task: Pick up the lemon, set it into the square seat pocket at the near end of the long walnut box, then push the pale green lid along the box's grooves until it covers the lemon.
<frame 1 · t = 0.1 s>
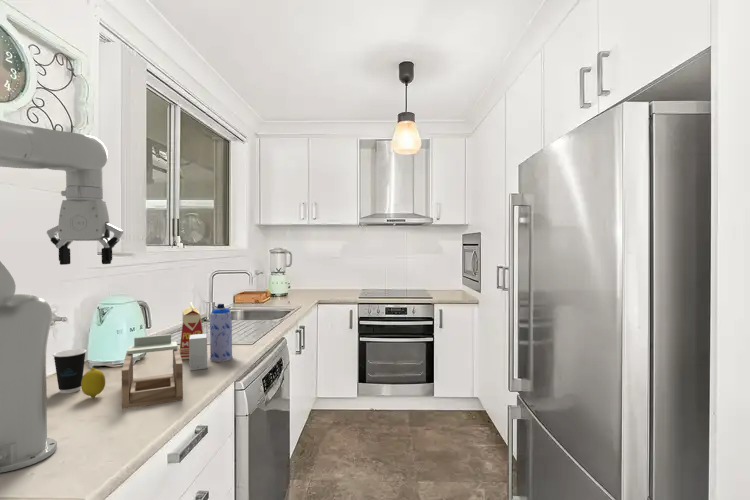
hand: (85, 264, 107), 37 cm above the counter, tool pointing down, fingers open, 9 cm apart
lid: (153, 343, 129), point 12 cm above the counter, slide at 0.0 cm
milk carton: (192, 356, 160), on the counter
small box: (198, 367, 146), on the counter
lemon: (93, 398, 116), on the counter
dixie cup: (70, 391, 122), on the counter
aerosol can: (221, 359, 156), on the counter
walnut box: (153, 390, 122), on the counter
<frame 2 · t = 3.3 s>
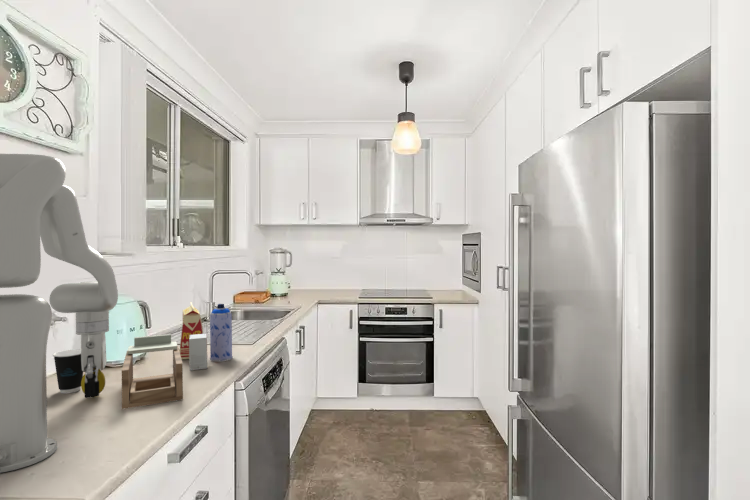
hand: (93, 392, 116), 1 cm above the counter, tool pointing down, fingers closed on lemon, 5 cm apart
lemon: (93, 398, 116), on the counter, touching gripper
everything else where it was.
when the fingers open (5 cm above the counter, at t = 7.9 s): lemon drops 2 cm, resting on walnut box.
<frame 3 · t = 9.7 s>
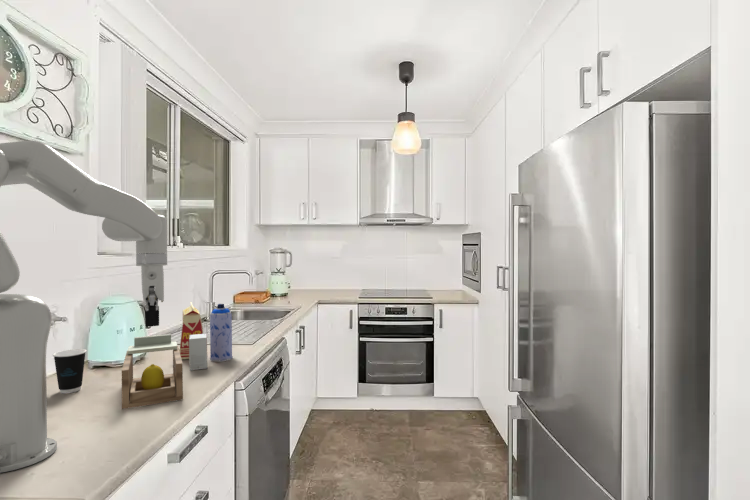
hand: (152, 323, 116), 20 cm above the counter, tool pointing down, fingers open, 9 cm apart
lemon: (153, 394, 116), point 1 cm above the counter, touching walnut box
everything else where it was.
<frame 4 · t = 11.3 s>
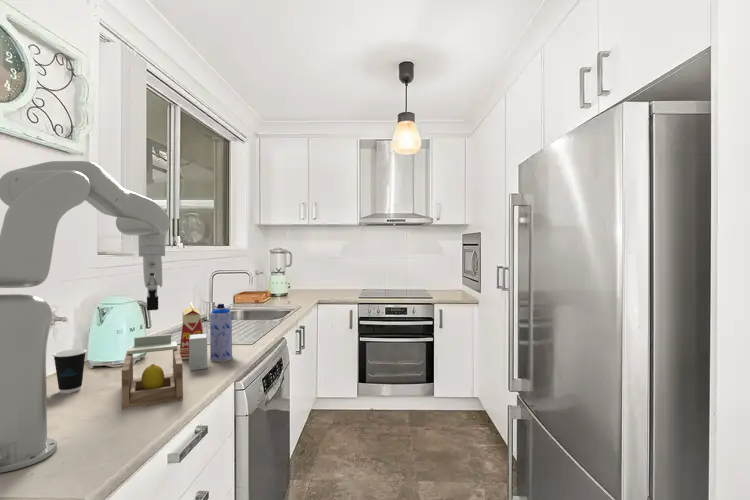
hand: (152, 308, 137), 21 cm above the counter, tool pointing down, fingers open, 3 cm apart
nothing on the counter moved.
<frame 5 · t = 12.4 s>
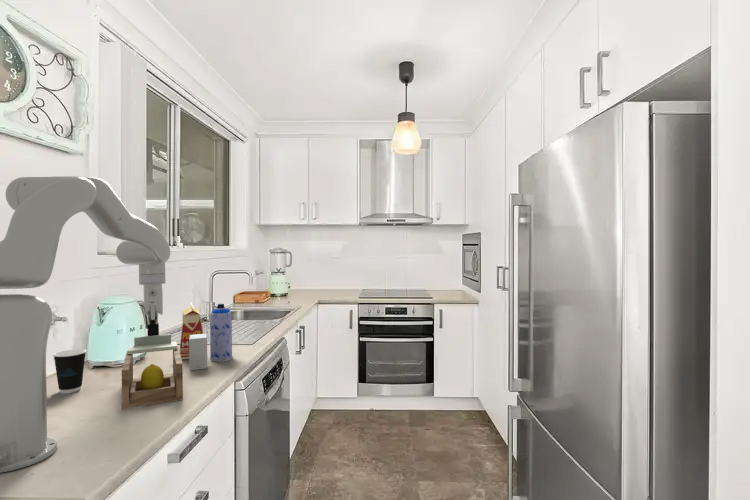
hand: (153, 336, 137), 12 cm above the counter, tool pointing down, fingers closed
nothing on the counter moved.
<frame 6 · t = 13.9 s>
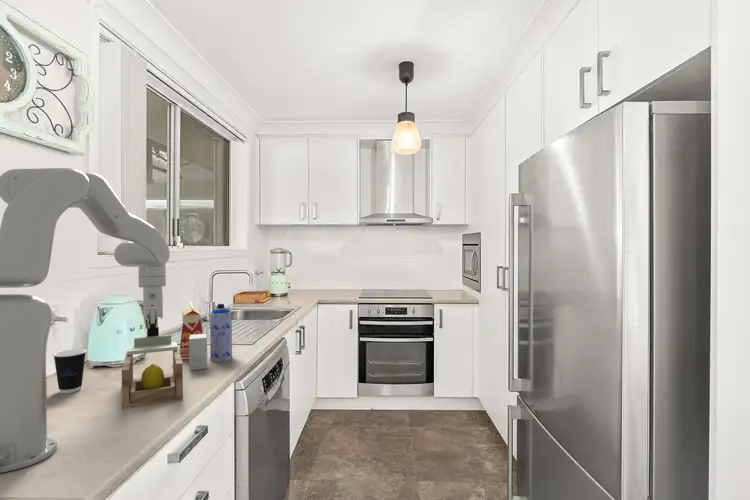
hand: (153, 340, 133), 12 cm above the counter, tool pointing down, fingers closed
lid: (153, 344, 128), point 12 cm above the counter, slide at 0.9 cm, touching gripper
everything else where it was.
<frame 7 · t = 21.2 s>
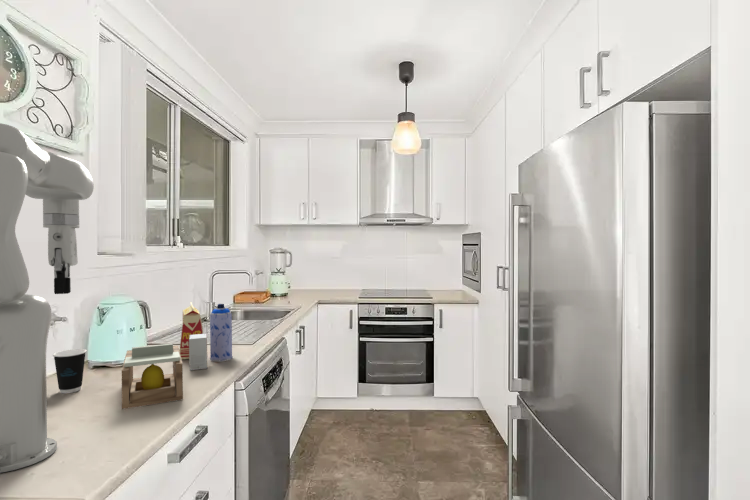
hand: (62, 293, 110), 29 cm above the counter, tool pointing down, fingers closed
lid: (152, 354, 116), point 12 cm above the counter, slide at 15.0 cm
everything else where it was.
at the end: lemon inside the target area (0.1 cm from its centre), point 0.8 cm above the counter; lid slide at 15.0 cm; the gripper is holding nothing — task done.
